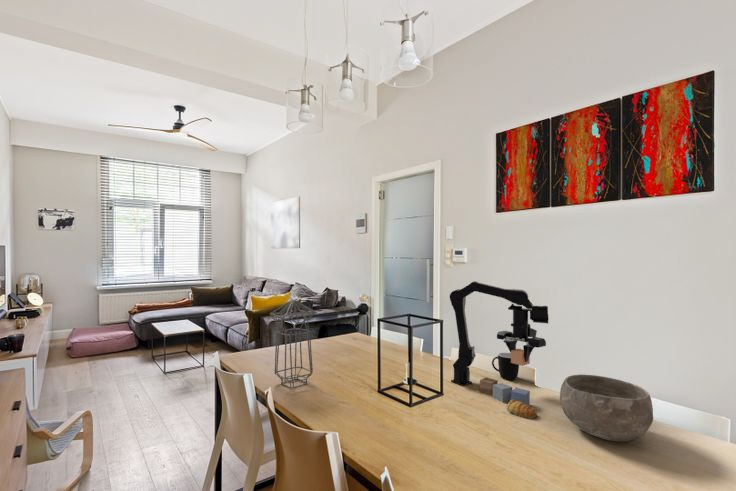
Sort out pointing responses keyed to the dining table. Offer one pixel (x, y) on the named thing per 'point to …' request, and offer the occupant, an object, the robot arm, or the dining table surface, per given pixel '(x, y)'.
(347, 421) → the dining table surface
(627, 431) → the bowl
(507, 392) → the slate cube
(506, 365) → the mug
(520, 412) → the pastry
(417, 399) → the dining table surface
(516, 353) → the terracotta cube
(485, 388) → the walnut cube
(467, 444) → the dining table surface
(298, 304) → the geometric lantern
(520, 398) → the blue cube
